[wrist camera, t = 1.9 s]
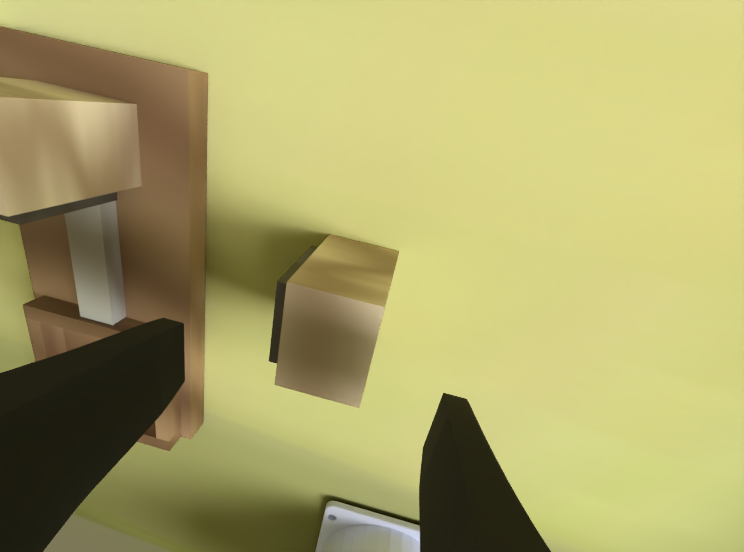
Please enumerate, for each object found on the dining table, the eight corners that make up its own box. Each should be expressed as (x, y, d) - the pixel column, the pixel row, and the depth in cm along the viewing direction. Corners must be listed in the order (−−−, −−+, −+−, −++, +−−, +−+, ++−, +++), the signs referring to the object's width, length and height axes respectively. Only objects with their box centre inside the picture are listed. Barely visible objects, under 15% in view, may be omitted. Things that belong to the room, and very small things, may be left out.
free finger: (399, 251, 15) (384, 307, 11) (379, 330, 17) (359, 408, 12) (318, 231, 15) (270, 277, 11) (306, 311, 17) (260, 381, 13)
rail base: (203, 422, 21) (119, 533, 15) (75, 386, 22) (-52, 480, 16) (207, 73, 14) (48, 40, 8) (11, 29, 14) (-270, -32, 8)
